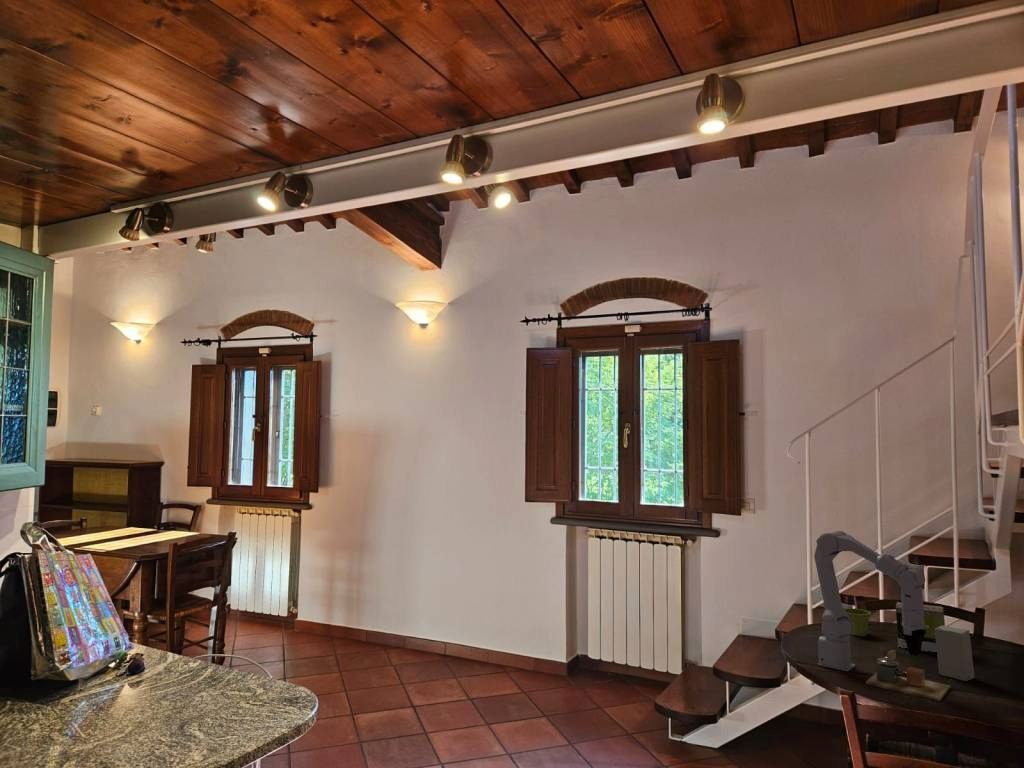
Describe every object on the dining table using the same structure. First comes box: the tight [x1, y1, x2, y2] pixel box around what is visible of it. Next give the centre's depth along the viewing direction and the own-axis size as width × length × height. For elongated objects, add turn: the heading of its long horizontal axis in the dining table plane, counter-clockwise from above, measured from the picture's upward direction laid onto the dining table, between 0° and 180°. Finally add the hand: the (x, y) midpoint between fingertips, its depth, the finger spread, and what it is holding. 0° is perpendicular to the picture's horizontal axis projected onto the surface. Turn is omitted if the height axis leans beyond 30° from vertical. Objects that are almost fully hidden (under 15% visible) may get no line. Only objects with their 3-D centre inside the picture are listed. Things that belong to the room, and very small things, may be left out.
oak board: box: [866, 672, 951, 702], centre depth 203 cm, size 20×14×1 cm
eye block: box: [875, 662, 902, 684], centre depth 207 cm, size 5×7×5 cm
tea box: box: [895, 601, 946, 653], centre depth 241 cm, size 15×10×15 cm, turn 58°
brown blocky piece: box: [896, 666, 926, 687], centre depth 205 cm, size 12×4×4 cm, turn 46°
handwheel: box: [876, 649, 900, 666], centre depth 208 cm, size 8×6×3 cm
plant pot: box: [843, 608, 872, 637], centre depth 258 cm, size 9×9×9 cm
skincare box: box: [935, 625, 975, 682], centre depth 212 cm, size 8×6×15 cm
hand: (914, 654), depth 202 cm, fingers closed
